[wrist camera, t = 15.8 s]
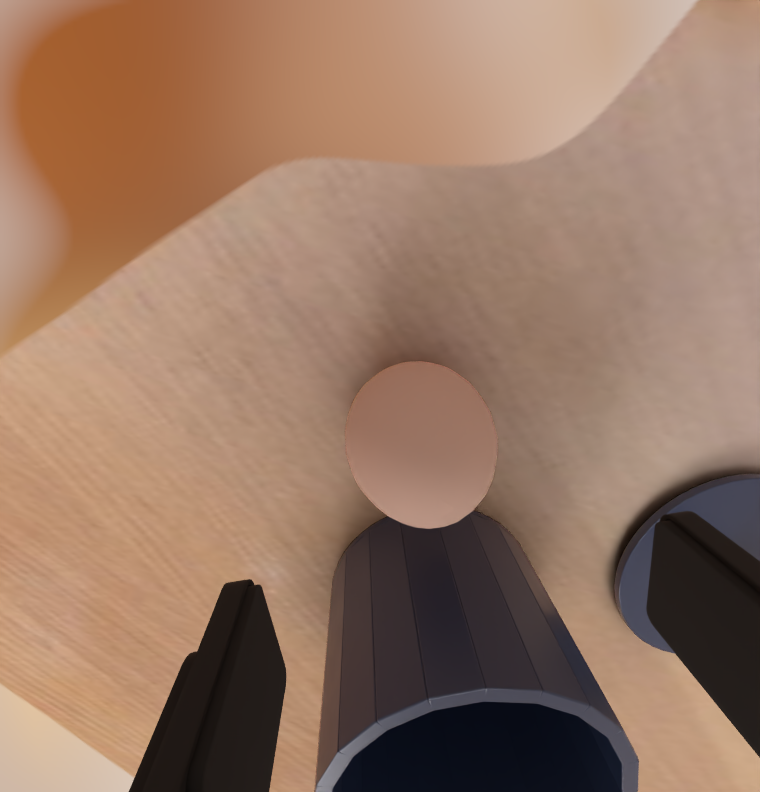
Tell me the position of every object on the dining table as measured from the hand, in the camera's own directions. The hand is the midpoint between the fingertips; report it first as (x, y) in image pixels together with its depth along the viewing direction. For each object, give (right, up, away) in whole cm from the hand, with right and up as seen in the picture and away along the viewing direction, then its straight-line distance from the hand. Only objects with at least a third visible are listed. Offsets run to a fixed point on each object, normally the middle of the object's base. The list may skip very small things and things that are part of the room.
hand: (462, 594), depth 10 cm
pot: (+2, -8, +18) cm, 20 cm away
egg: (0, +4, +14) cm, 14 cm away
